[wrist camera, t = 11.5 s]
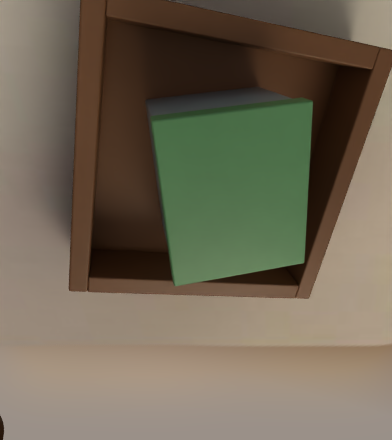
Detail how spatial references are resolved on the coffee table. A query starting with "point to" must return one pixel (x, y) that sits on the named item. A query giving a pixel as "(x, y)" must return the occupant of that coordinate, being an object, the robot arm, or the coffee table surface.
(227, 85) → the tray
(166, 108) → the container
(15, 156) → the coffee table surface
